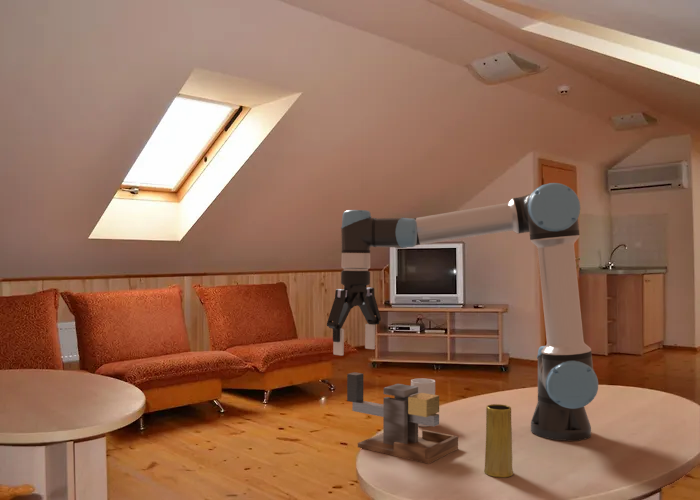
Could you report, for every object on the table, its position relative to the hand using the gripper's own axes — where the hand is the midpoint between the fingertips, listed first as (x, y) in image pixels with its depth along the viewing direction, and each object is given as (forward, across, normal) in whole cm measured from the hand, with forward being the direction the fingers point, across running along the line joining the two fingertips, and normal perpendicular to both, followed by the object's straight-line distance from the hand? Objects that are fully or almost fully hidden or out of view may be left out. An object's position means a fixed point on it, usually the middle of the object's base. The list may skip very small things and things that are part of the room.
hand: (354, 351), depth 165 cm
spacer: (+12, 0, +21) cm, 24 cm away
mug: (+22, -23, +7) cm, 33 cm away
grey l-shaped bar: (+15, 0, +12) cm, 19 cm away
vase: (+22, +3, +41) cm, 47 cm away
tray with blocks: (+22, 0, +16) cm, 27 cm away
